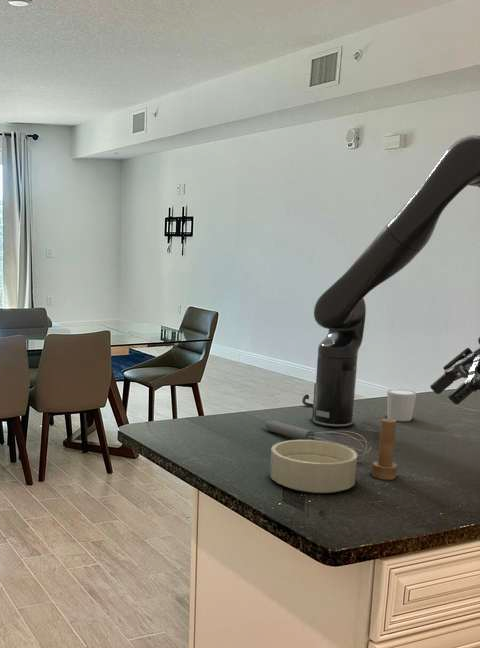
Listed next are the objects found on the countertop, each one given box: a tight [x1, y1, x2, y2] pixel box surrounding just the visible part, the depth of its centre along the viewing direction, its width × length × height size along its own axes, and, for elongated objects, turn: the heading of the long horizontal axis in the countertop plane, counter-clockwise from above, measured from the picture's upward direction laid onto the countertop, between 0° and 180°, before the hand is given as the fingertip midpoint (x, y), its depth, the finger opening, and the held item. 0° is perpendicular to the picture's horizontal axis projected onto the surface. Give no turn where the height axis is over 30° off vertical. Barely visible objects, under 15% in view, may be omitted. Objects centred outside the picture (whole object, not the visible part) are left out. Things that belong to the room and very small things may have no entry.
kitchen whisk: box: [263, 419, 372, 463], centre depth 157 cm, size 6×34×6 cm, turn 22°
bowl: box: [269, 439, 359, 494], centre depth 135 cm, size 16×16×6 cm
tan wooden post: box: [371, 418, 398, 481], centre depth 137 cm, size 4×4×11 cm
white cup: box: [386, 389, 417, 422], centre depth 180 cm, size 7×7×7 cm
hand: (442, 395), depth 134 cm, fingers open, 8 cm apart
